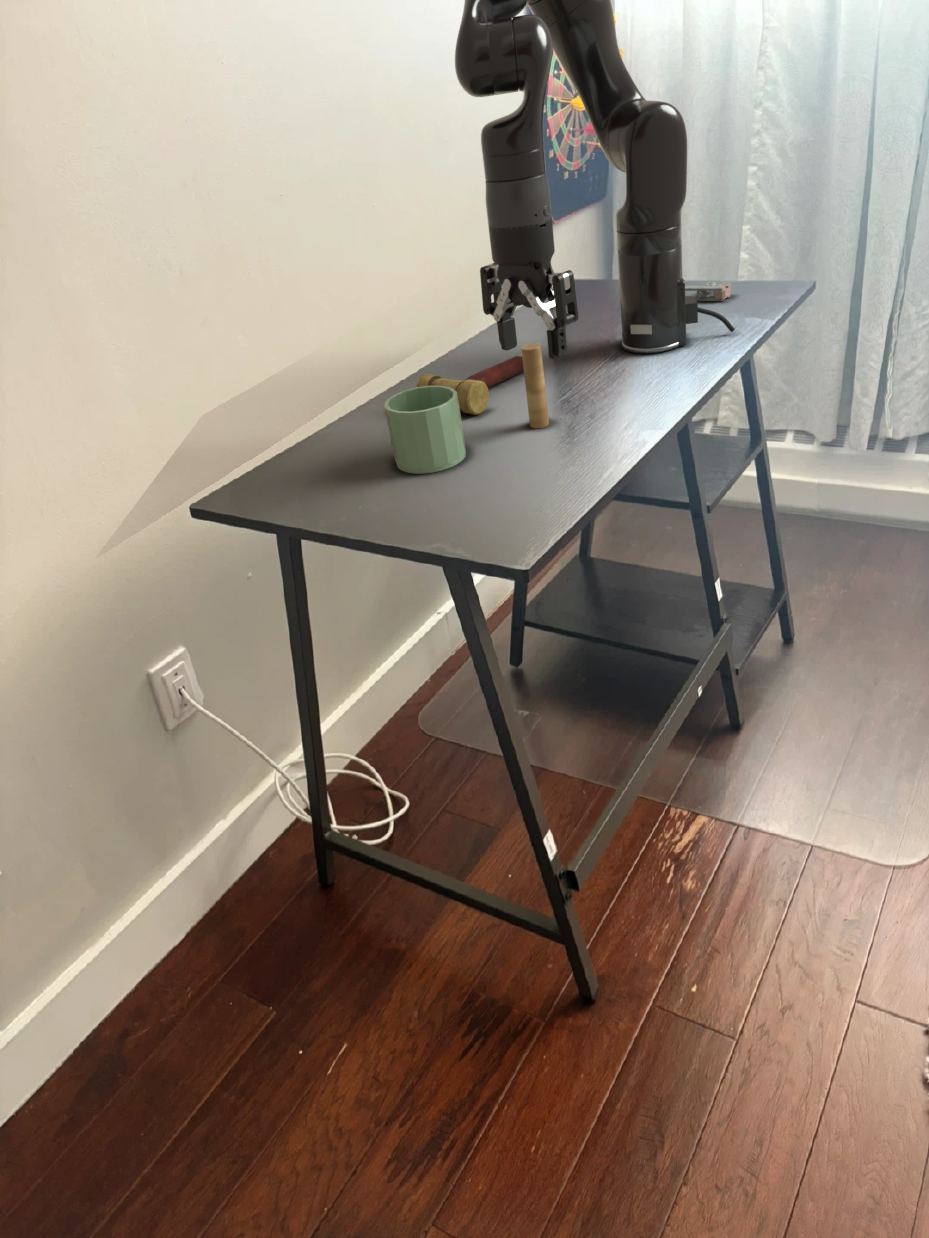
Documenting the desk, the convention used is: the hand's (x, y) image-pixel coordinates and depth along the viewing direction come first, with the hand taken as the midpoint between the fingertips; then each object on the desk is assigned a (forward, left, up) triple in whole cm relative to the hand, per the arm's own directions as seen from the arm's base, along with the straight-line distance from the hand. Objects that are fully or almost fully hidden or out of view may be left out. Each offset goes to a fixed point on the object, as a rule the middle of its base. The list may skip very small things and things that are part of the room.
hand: (533, 353), depth 121 cm
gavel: (+7, -16, -10) cm, 20 cm away
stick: (0, 0, -10) cm, 10 cm away
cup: (+14, +7, -10) cm, 18 cm away
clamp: (-25, -49, -10) cm, 56 cm away
